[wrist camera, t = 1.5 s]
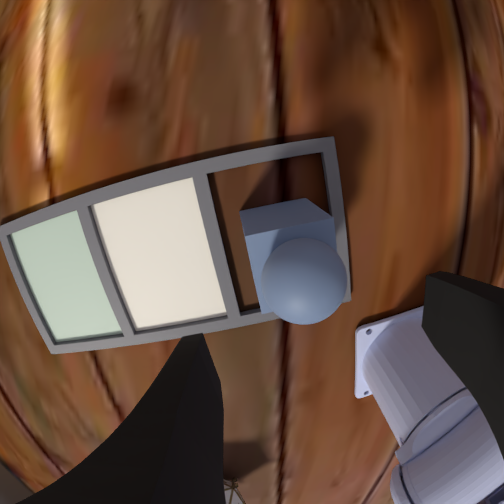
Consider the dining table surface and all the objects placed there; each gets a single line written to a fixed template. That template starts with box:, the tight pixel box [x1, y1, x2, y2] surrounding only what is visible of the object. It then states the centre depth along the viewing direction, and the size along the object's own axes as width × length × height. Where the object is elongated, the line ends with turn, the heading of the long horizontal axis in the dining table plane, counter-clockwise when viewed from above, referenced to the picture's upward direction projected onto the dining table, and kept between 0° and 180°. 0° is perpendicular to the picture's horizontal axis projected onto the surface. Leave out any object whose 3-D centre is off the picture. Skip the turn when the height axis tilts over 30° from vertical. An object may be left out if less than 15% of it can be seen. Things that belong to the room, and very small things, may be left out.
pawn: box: [239, 198, 347, 324], centre depth 15 cm, size 4×4×8 cm
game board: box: [0, 137, 351, 354], centre depth 18 cm, size 23×11×1 cm, turn 101°
